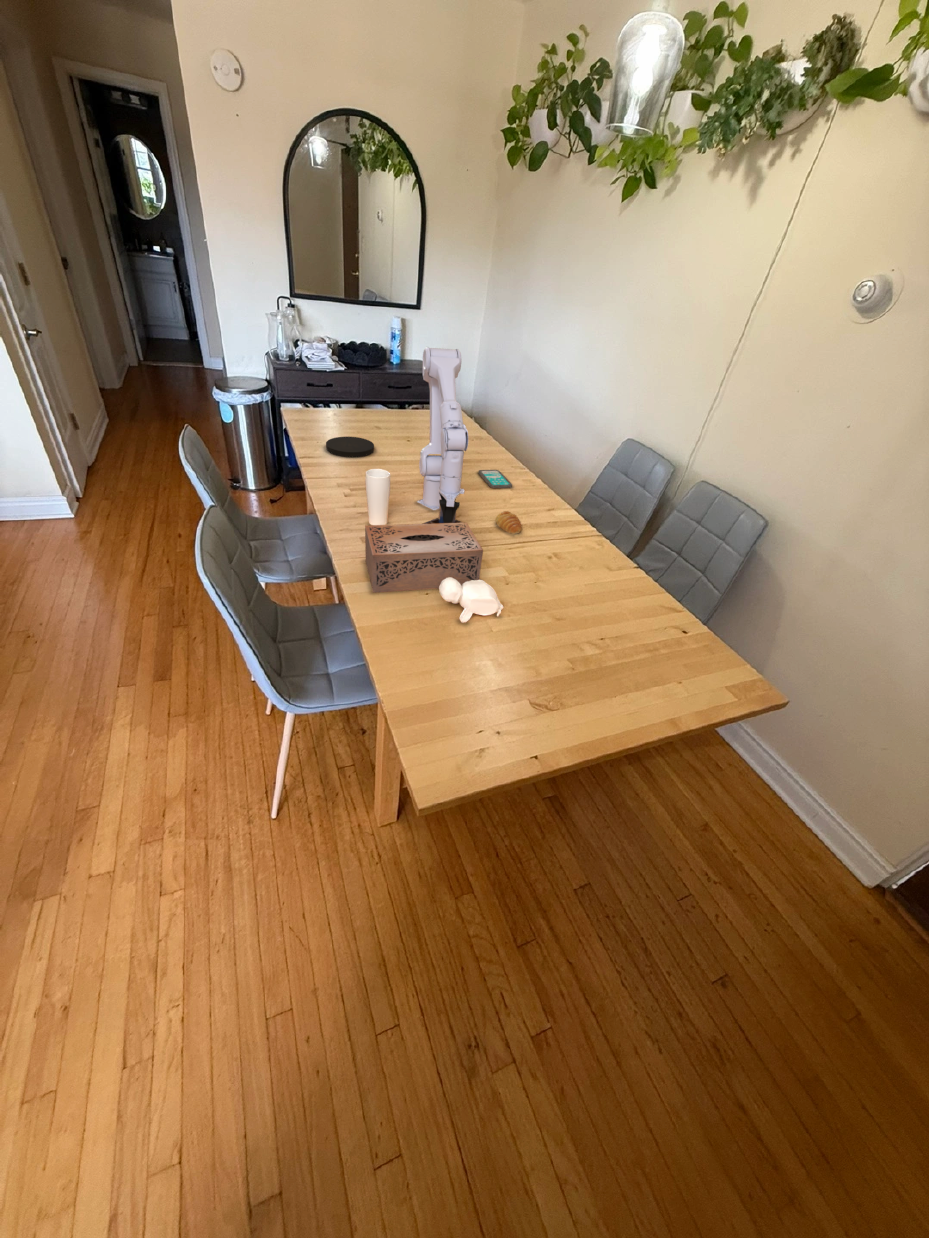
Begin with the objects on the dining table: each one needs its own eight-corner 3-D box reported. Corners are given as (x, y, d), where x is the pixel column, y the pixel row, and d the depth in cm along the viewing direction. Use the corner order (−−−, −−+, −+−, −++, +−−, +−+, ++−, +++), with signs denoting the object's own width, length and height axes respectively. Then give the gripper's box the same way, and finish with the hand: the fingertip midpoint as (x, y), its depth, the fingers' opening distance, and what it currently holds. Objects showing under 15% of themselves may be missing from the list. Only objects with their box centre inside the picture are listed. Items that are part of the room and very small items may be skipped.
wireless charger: (350, 438, 203) (350, 433, 202) (383, 450, 196) (383, 445, 195) (316, 447, 191) (315, 442, 190) (349, 461, 184) (349, 455, 183)
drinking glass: (385, 530, 144) (385, 479, 135) (362, 526, 144) (361, 475, 135) (392, 520, 149) (393, 471, 140) (370, 516, 150) (370, 467, 141)
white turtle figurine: (482, 609, 123) (427, 594, 115) (499, 580, 119) (443, 563, 112) (493, 630, 116) (435, 616, 109) (511, 601, 112) (453, 584, 105)
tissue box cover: (372, 592, 118) (372, 555, 112) (365, 561, 129) (365, 525, 123) (478, 585, 125) (483, 550, 119) (462, 556, 136) (466, 522, 130)
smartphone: (498, 469, 189) (513, 484, 178) (498, 471, 190) (513, 487, 179) (477, 469, 187) (490, 485, 176) (476, 472, 187) (490, 488, 176)
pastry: (526, 534, 151) (529, 522, 148) (507, 537, 148) (509, 525, 146) (511, 520, 157) (513, 509, 155) (492, 522, 155) (493, 511, 152)
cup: (446, 523, 150) (448, 498, 145) (458, 529, 147) (461, 504, 143) (434, 528, 147) (436, 502, 142) (446, 534, 144) (449, 508, 140)
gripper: (467, 485, 132) (462, 532, 140) (464, 465, 144) (460, 510, 152) (440, 483, 131) (436, 530, 139) (439, 463, 143) (436, 508, 151)
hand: (447, 519), depth 145 cm, fingers closed on cup, 5 cm apart
